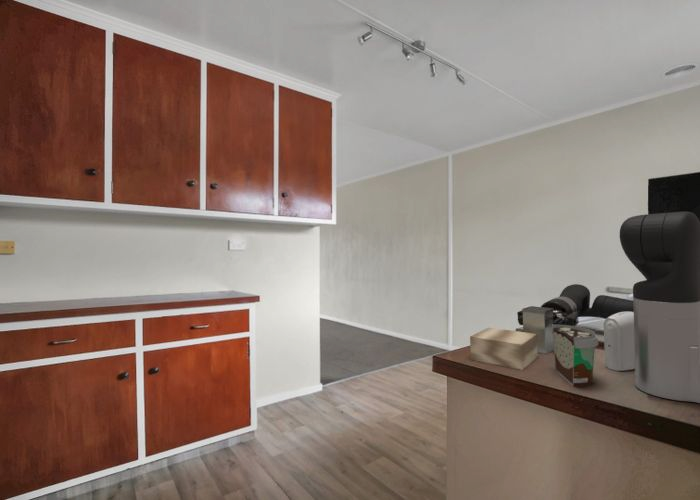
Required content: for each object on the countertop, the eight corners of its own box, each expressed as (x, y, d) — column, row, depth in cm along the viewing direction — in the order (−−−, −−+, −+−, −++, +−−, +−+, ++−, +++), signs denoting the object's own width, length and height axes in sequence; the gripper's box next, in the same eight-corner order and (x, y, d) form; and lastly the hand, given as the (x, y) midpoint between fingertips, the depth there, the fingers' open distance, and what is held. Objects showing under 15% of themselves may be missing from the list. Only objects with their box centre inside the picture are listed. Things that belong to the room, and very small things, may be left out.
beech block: (537, 357, 86) (536, 334, 86) (522, 371, 78) (521, 344, 78) (489, 349, 95) (488, 327, 95) (470, 360, 86) (470, 336, 86)
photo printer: (620, 373, 74) (619, 315, 74) (601, 366, 78) (599, 312, 78) (655, 367, 77) (654, 312, 77) (635, 361, 81) (633, 308, 81)
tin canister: (554, 349, 92) (553, 308, 92) (545, 354, 88) (544, 311, 88) (532, 345, 96) (531, 306, 96) (523, 349, 93) (522, 308, 92)
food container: (612, 391, 65) (611, 338, 65) (576, 389, 66) (575, 337, 66) (582, 368, 77) (581, 324, 77) (552, 367, 78) (551, 323, 78)
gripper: (587, 327, 97) (567, 342, 87) (534, 320, 108) (510, 333, 97) (586, 300, 97) (566, 312, 86) (532, 296, 108) (509, 306, 97)
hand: (536, 323), depth 92 cm, fingers open, 8 cm apart
